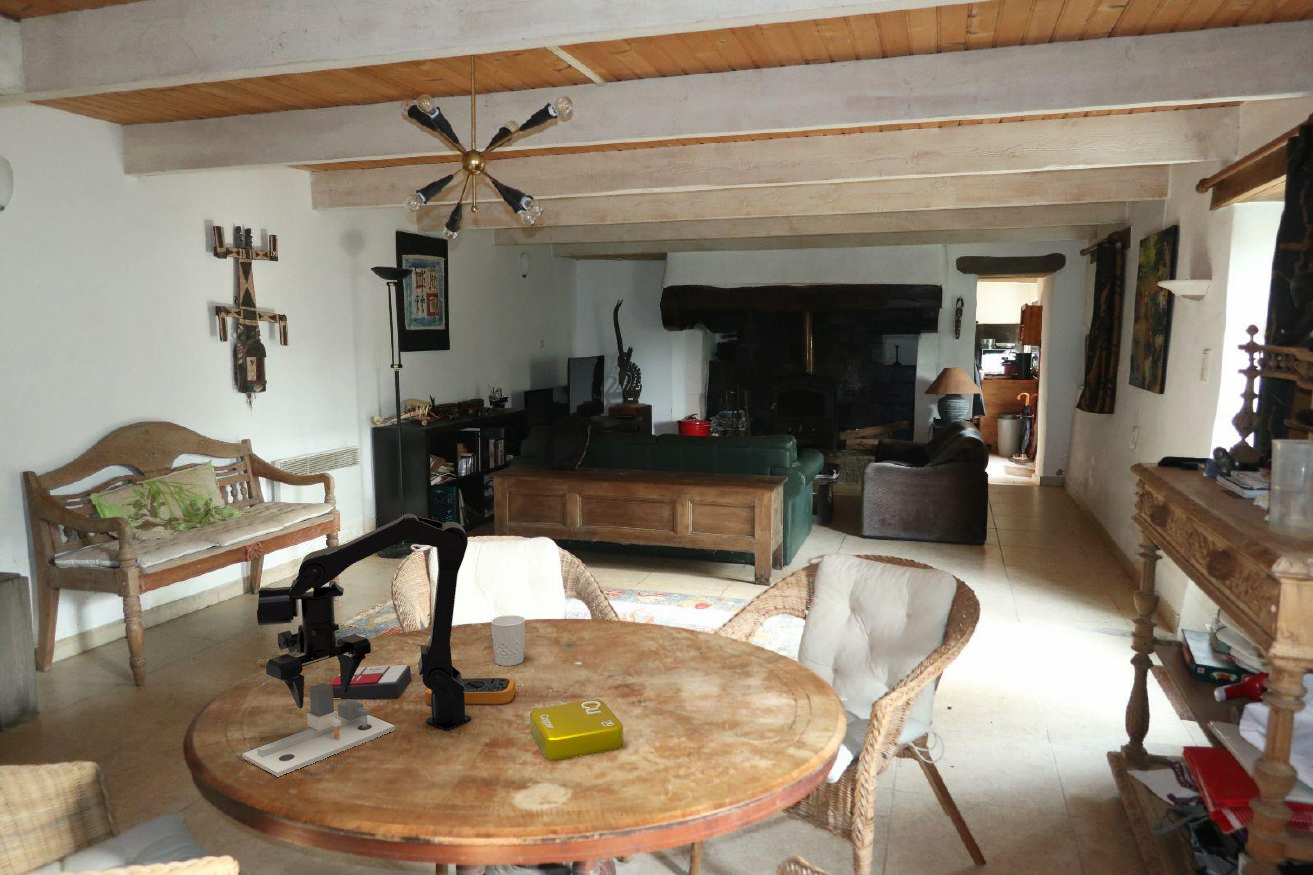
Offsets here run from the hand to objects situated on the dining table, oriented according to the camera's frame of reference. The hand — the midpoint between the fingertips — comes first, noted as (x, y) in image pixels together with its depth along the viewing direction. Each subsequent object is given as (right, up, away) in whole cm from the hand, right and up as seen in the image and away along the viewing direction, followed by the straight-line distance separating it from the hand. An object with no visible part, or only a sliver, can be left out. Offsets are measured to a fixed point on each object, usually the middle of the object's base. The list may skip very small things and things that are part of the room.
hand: (322, 700), depth 169 cm
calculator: (+1, -6, +25) cm, 25 cm away
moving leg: (+1, -6, -1) cm, 6 cm away
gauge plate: (+1, -8, -2) cm, 8 cm away
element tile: (+48, -8, 0) cm, 49 cm away
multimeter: (+24, -6, +20) cm, 32 cm away
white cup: (+29, -3, +42) cm, 51 cm away
